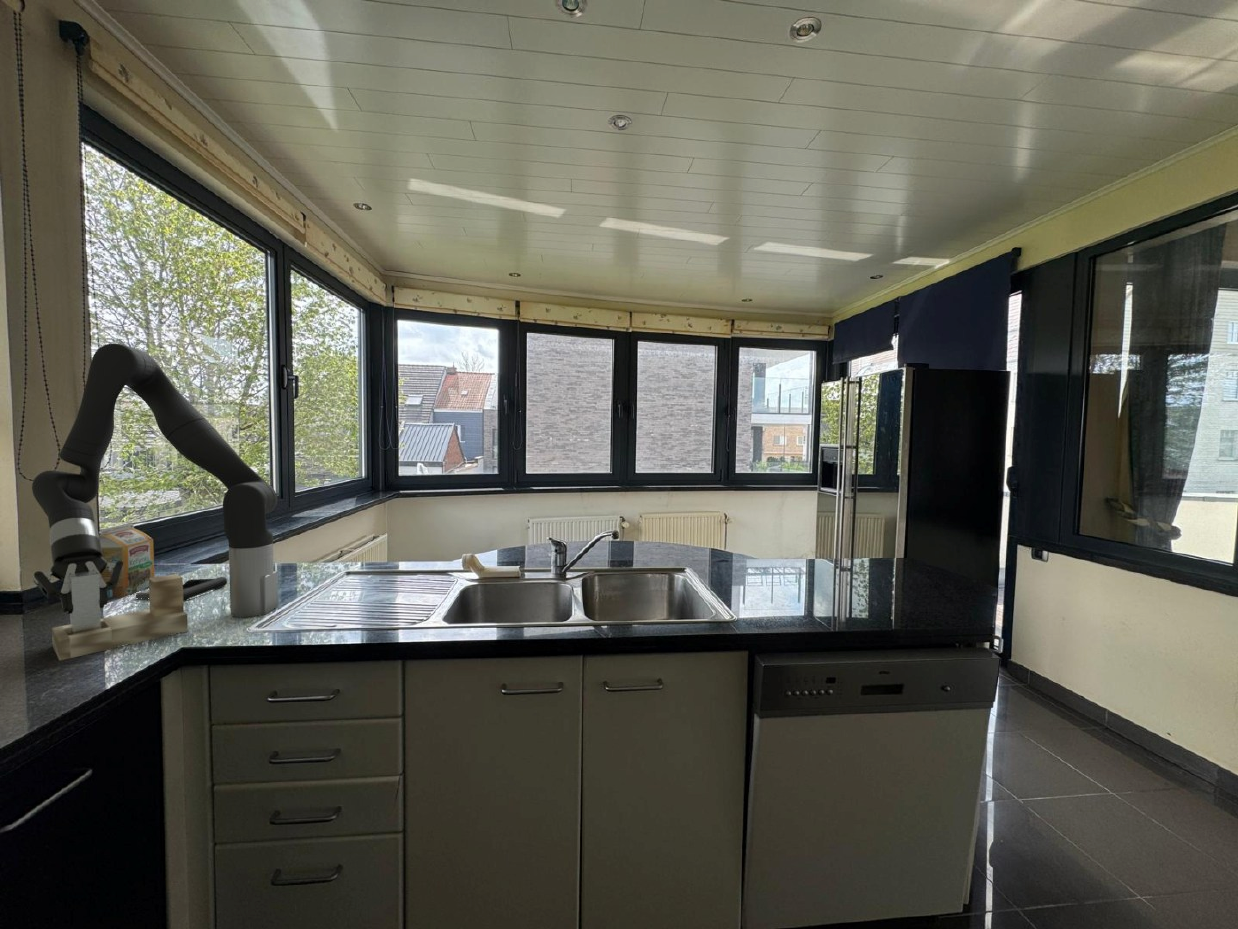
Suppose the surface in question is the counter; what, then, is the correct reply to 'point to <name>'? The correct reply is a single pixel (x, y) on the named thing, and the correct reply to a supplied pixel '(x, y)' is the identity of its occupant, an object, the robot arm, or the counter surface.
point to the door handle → (195, 587)
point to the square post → (85, 602)
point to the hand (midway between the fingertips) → (86, 608)
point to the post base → (130, 622)
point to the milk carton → (128, 558)
